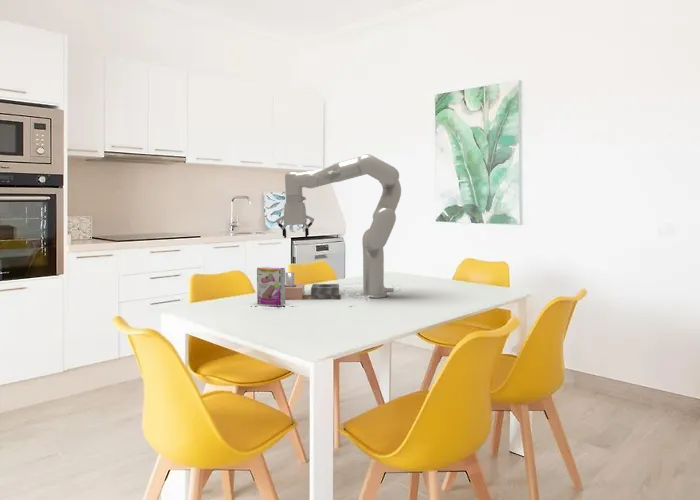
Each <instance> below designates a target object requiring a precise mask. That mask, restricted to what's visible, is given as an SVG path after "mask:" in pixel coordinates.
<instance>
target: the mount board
mask: <svg viewBox="0 0 700 500" xmlns="http://www.w3.org/2000/svg"><path fill="white" fill-rule="evenodd" d="M341 299H342V294H341V293H340V284H339V283H313V284H312V285H311V287H310V294H309V293H308V294H305V295H304V297H303V299H285V301H289V300H290V301H295V300H296V301H298V300H299V301H303V300H305V301H307V300H308V301H314V300H315V301H316V300H317V301H318V300H320V301H321V300H322V301H323V300H324V301H325V300H327V301H328V300H330V301H332V300H336V301H338V300H339V301H340V300H341Z"/></svg>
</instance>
